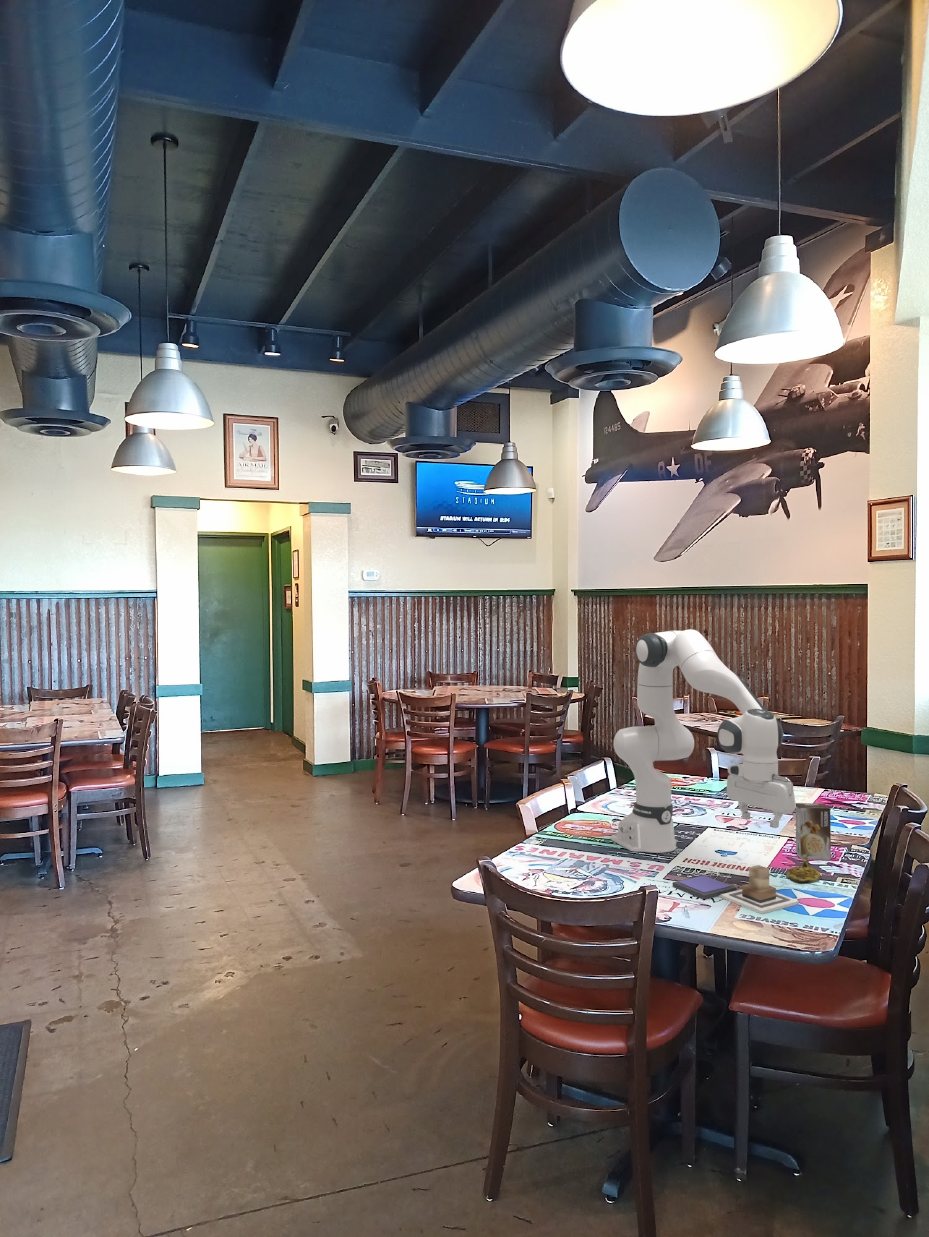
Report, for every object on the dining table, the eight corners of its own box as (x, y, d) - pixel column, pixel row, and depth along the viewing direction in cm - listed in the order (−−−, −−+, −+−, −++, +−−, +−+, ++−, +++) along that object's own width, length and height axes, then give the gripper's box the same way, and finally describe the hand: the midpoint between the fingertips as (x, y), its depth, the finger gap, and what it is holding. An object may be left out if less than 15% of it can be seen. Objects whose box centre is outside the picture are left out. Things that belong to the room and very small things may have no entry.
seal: (818, 891, 243) (821, 874, 256) (820, 875, 242) (823, 859, 256) (782, 882, 247) (788, 867, 260) (785, 866, 246) (790, 851, 260)
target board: (720, 897, 234) (720, 893, 234) (757, 888, 241) (757, 884, 241) (761, 914, 222) (762, 910, 222) (799, 904, 229) (799, 900, 229)
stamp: (742, 896, 233) (742, 866, 232) (757, 892, 236) (758, 863, 235) (760, 903, 228) (760, 873, 227) (775, 899, 231) (776, 869, 230)
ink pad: (672, 886, 243) (672, 881, 243) (704, 879, 249) (704, 874, 249) (704, 899, 233) (704, 894, 233) (736, 891, 239) (736, 886, 239)
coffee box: (825, 854, 272) (825, 803, 271) (831, 860, 265) (831, 808, 265) (794, 853, 273) (795, 802, 272) (799, 859, 267) (800, 807, 266)
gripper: (801, 777, 223) (800, 830, 224) (739, 763, 241) (739, 813, 241) (784, 780, 220) (783, 834, 220) (723, 765, 238) (722, 816, 238)
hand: (759, 823), depth 231 cm, fingers open, 8 cm apart
